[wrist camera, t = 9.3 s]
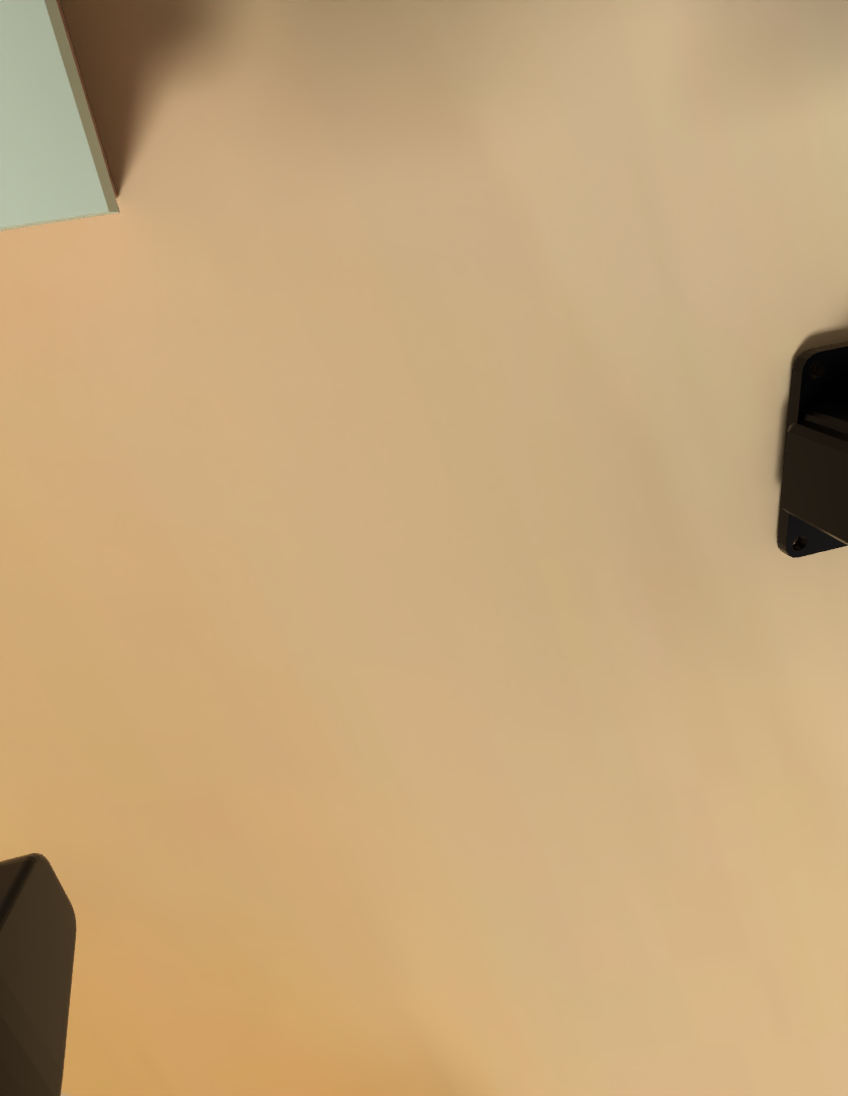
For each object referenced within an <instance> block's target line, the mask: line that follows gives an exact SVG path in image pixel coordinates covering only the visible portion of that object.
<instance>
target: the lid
mask: <svg viewBox="0 0 848 1096" xmlns="http://www.w3.org/2000/svg"><path fill="white" fill-rule="evenodd" d="M114 213H120V211H119V207H118V204H117V201H116V197H115V194H114V191H113V187H112V184H111V181H110V177H109V174H108V171H107V168H106V164H105V161H104V158H103V154H102V151H101V148H100V144H99V141H98V138H97V134H96V131H95V128H94V124H93V121H92V118H91V114H90V111H89V108H88V104H87V101H86V98H85V94H84V91H83V88H82V85H81V81H80V78H79V75H78V71H77V68H76V65H75V61H74V58H73V55H72V51H71V48H70V45H69V41H68V38H67V35H66V31H65V28H64V25H63V21H62V18H61V15H60V11H59V8H58V5H57V2H56V0H0V231H3V230H10V229H16V228H23V227H29V226H36V225H42V224H49V223H55V222H62V221H68V220H75V219H81V218H88V217H94V216H101V215H107V214H114Z"/></svg>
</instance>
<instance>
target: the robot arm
mask: <svg viewBox="0 0 848 1096" xmlns="http://www.w3.org/2000/svg"><path fill="white" fill-rule="evenodd" d="M814 362H816V368H815V370H814V371H813V373H812V374H810V369H811V366H812V365H813V364H814ZM796 538H798V540H797V541H796V543H795V544H793V542H794V540H795V539H796ZM777 543H778V548H779V549H780V550H781V551H782V552H784V553H785V554H787V555H789V556H791V557H793V558H794V557H802V556H806V555H810V554H814V553H818V552H823V551H827V550H831V549H835V548H839V547H843V546H848V342H845V343H840V344H835V345H830V346H824V347H819V348H814V349H810V350H807V351H805V352H803V353H802V354H801V355H800V356H799V357H798V358H797V360H796V361H795V363H794V366H793V370H792V381H791V392H790V403H789V415H788V426H787V436H786V447H785V458H784V470H783V481H782V493H781V506H780V517H779V528H778V540H777ZM75 940H76V919H75V913H74V910H73V907H72V905H71V903H70V901H69V899H68V897H67V895H66V893H65V891H64V889H63V887H62V886H61V884H60V882H59V880H58V878H57V876H56V874H55V872H54V870H53V869H52V867H51V865H50V863H49V861H48V860H47V859H46V857H44V856H43V855H41V854H38V853H32V854H28V855H24V856H20V857H16V858H12V859H8V860H4V861H1V862H0V1096H60V1095H61V1087H62V1078H63V1069H64V1058H65V1048H66V1037H67V1026H68V1015H69V1005H70V994H71V983H72V972H73V962H74V951H75Z"/></svg>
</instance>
